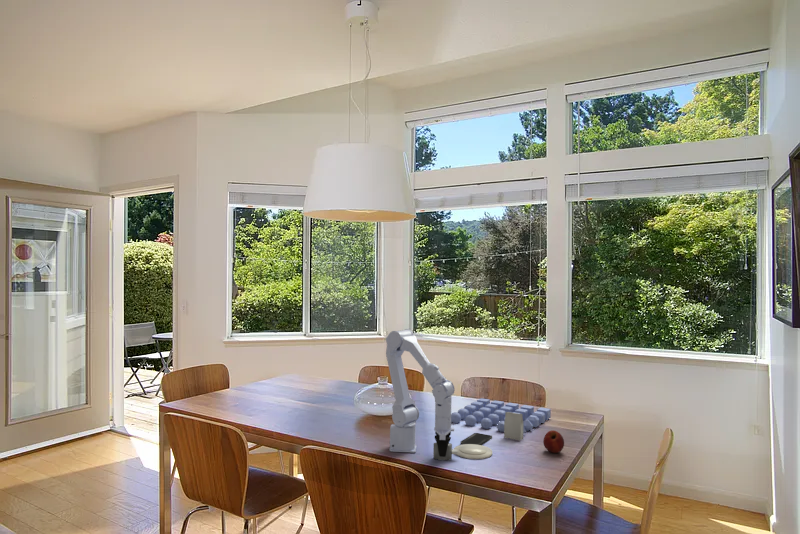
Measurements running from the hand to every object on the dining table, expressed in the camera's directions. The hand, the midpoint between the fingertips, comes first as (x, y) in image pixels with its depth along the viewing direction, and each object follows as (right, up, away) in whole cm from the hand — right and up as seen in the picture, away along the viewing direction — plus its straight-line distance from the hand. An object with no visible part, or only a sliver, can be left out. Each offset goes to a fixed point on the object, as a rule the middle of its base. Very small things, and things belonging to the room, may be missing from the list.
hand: (442, 454), depth 182 cm
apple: (+42, -3, +9) cm, 43 cm away
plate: (+12, -2, +7) cm, 14 cm away
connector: (0, -1, 0) cm, 1 cm away
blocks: (+30, -4, +50) cm, 59 cm away
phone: (+15, -3, +21) cm, 26 cm away
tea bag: (+31, -3, +25) cm, 40 cm away
